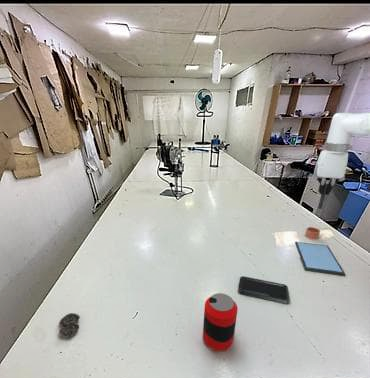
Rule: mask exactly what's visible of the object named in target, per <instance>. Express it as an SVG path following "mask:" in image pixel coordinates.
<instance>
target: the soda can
mask: <svg viewBox="0 0 370 378" xmlns="http://www.w3.org/2000/svg"><path fill="white" fill-rule="evenodd" d="M238 310H239V309H238V305H237V303H236V301H234V299H233V298H232V297H231V296H230V295H228V294H226V293H221V292H218V293H213V294H212V295H210V297H208V298H207V299H206V300H205V302H204V311H203V327H202V328H203V329H202V340H203V342H204V344H205V345H206V346H207V347H208V349H211V350H213V351H216V352H224V351H227V350H228V349H230V348H231V347H232V346H233V344H234V338H235V330H236V325H237V316H238Z"/></svg>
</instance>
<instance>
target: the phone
mask: <svg viewBox="0 0 370 378" xmlns="http://www.w3.org/2000/svg"><path fill="white" fill-rule="evenodd" d="M237 287H238V288H237V292H238V294H239V295H244V296H248V297H253V298H256V299H257V298H258V299H262V300H267V301H270V302H271V301H272V302H276V303H281V304H289V302H290V294H289V287H288V286H287V284H283V283H279V282H274V281H269V280H264V279H260V278H254V277H249V276H244V275H243V276H240V277H239V282H238V286H237Z"/></svg>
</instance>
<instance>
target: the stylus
mask: <svg viewBox="0 0 370 378" xmlns="http://www.w3.org/2000/svg"><path fill="white" fill-rule="evenodd" d="M329 182H330V180H326V179H325V184H324V185H325V189H324V192H323V194H322V195H321V194H320V198H319V201H318V205H317V206H318V207H317V209H319V210H322V209H323V206H324V202H325V199H326V196H327V195H326V192H327V188H328V185H329Z"/></svg>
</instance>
